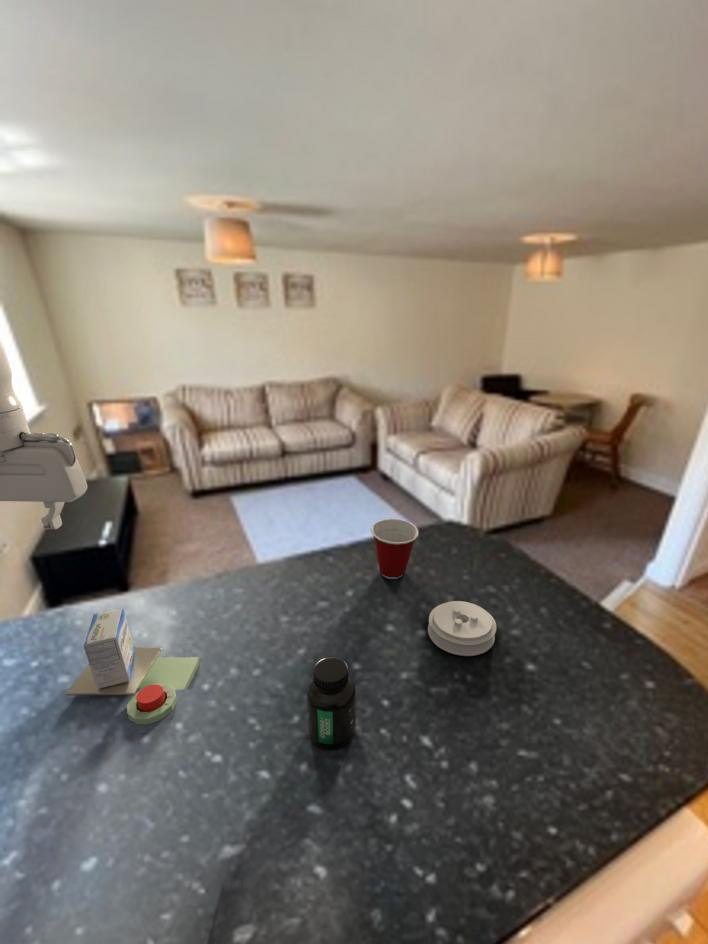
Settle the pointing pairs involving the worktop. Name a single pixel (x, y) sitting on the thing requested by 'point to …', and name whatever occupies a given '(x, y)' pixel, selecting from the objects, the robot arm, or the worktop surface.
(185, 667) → the green flat piece
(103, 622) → the medicine box
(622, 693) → the worktop surface
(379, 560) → the plastic cup
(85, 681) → the plate
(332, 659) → the supplement bottle
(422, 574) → the worktop surface
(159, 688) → the button
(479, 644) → the lid
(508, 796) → the worktop surface
